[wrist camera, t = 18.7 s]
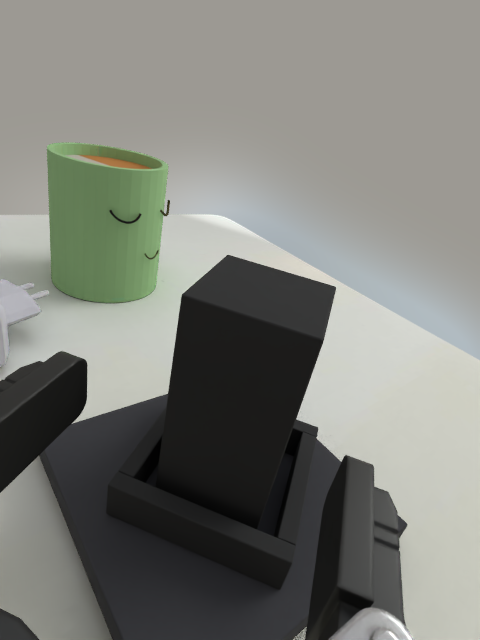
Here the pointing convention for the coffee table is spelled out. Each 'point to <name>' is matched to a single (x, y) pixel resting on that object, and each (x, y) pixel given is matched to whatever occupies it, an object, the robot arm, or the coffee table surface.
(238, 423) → the tall black rectangular block
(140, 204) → the mug
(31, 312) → the charger
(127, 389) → the coffee table surface
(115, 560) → the base pad
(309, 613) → the robot arm
